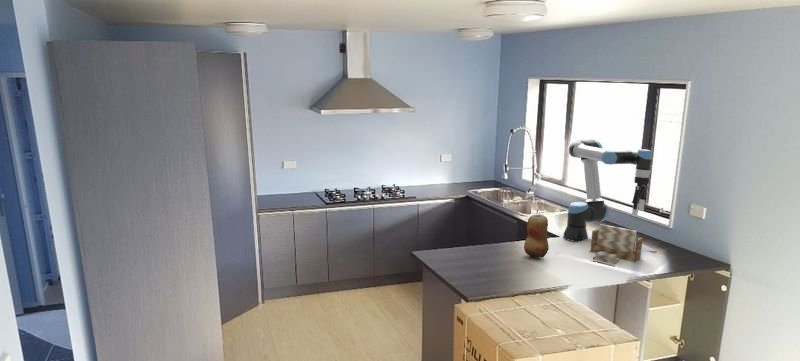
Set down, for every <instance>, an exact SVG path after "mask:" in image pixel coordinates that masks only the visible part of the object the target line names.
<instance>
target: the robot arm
mask: <svg viewBox="0 0 800 361" xmlns="http://www.w3.org/2000/svg"><path fill="white" fill-rule="evenodd" d="M567 152H568V155H570V156H571V157H573V158H577V159H580V162H582V163H583V169H584V170H583V171H584V181H585V189H586V200H585V201H574V202H571V203H570V204H569V206H568V210H567V212H568V213H567V223H566V225H567V226H566V227H565V230H564V232H563V239H565V238H566V239H565V240H567V239H569V240H568V241H571V240H573V241H572V242H578V241H580V242H582V241H584V240H588V239H589V234H588V231H587V223H600V222H604V221H605V220H607V218H608V217H609V215H610V209H609V206H608V204H606V203H605V200H604V199H603V198H602V193H601V183H600V175H599V173H600V172H599V166H598V162H603V164H605V165H635V171H634V172H635V173H634V175H635V176H634V181H633V182H634V184H637V185H636V186H635V189H634V194H633V198H632V201H631V204H632V211H631V215H634V216H638V213H639V211H641V212H644V211H645V203H646V202H645V201H646V200H647V185H649V183H650V178H649V177H650V175H651V173H652V172H651V166H652V159H653V151H652V150H650V149H641V148H640V149H638V150H637V151H635V150H629V149H627V150H626V149H625V150H616V151H615V150H612V149H611V150H609V149H604V148H603V145H602V143H601V142H600V141H599V140H596V139H576V140H575V139H574V140H572V141H571V142H570V143H569V144H568V146H567Z"/></svg>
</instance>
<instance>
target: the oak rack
mask: <svg viewBox="0 0 800 361" xmlns="http://www.w3.org/2000/svg"><path fill="white" fill-rule="evenodd" d="M598 234H599V228H596V229H593V230H592V232H591V242H590V250H589V251H588V252H589V253H593V254H596V253H598V252H599V251H602V252H606V253H611V254H615V255H616V259H619V260H623V261H627V262H632V263H637V262H638V261H639V260H640V259H642V250H641V248H642V244H643V238H642V237H638V238H636V245H635V251H634V254H633V253H629V252H624V251H620V250H615V249H611V248H606V247H602V246H597V245H598Z"/></svg>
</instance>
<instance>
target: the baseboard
mask: <svg viewBox="0 0 800 361" xmlns="http://www.w3.org/2000/svg"><path fill="white" fill-rule="evenodd" d="M635 245H636V241H635ZM641 252H647V253H658V252H657V250H655V249H653V248H651V247H649V246H648V245H645V244H643V243H642V248H641Z"/></svg>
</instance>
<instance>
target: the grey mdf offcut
mask: <svg viewBox="0 0 800 361" xmlns="http://www.w3.org/2000/svg"><path fill="white" fill-rule="evenodd" d="M595 256H596V258H599V259H603V260H607V261H612V262H613V261H614V260H615V259H617V258H616V255H615V254H611V253H606V252H602V251H599V252H598V253H595Z"/></svg>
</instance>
